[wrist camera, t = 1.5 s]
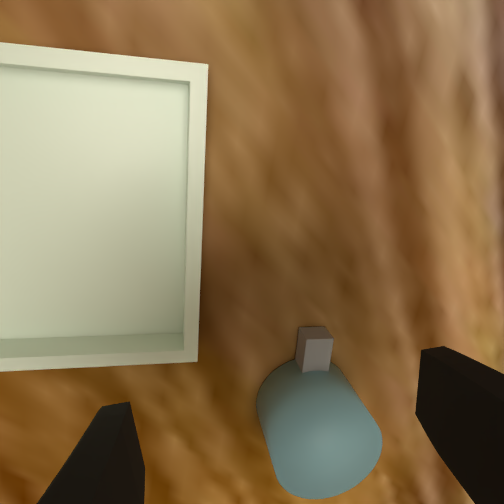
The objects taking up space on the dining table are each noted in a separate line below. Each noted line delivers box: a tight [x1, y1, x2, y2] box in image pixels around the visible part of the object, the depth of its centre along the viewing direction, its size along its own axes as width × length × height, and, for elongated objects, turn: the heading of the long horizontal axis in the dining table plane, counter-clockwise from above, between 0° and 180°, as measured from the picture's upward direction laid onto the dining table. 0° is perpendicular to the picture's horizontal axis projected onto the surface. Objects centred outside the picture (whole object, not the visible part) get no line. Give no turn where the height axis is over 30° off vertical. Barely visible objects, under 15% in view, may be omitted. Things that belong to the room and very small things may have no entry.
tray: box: [0, 42, 208, 371], centre depth 15 cm, size 12×12×2 cm
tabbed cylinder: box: [256, 327, 382, 499], centre depth 20 cm, size 7×5×4 cm
